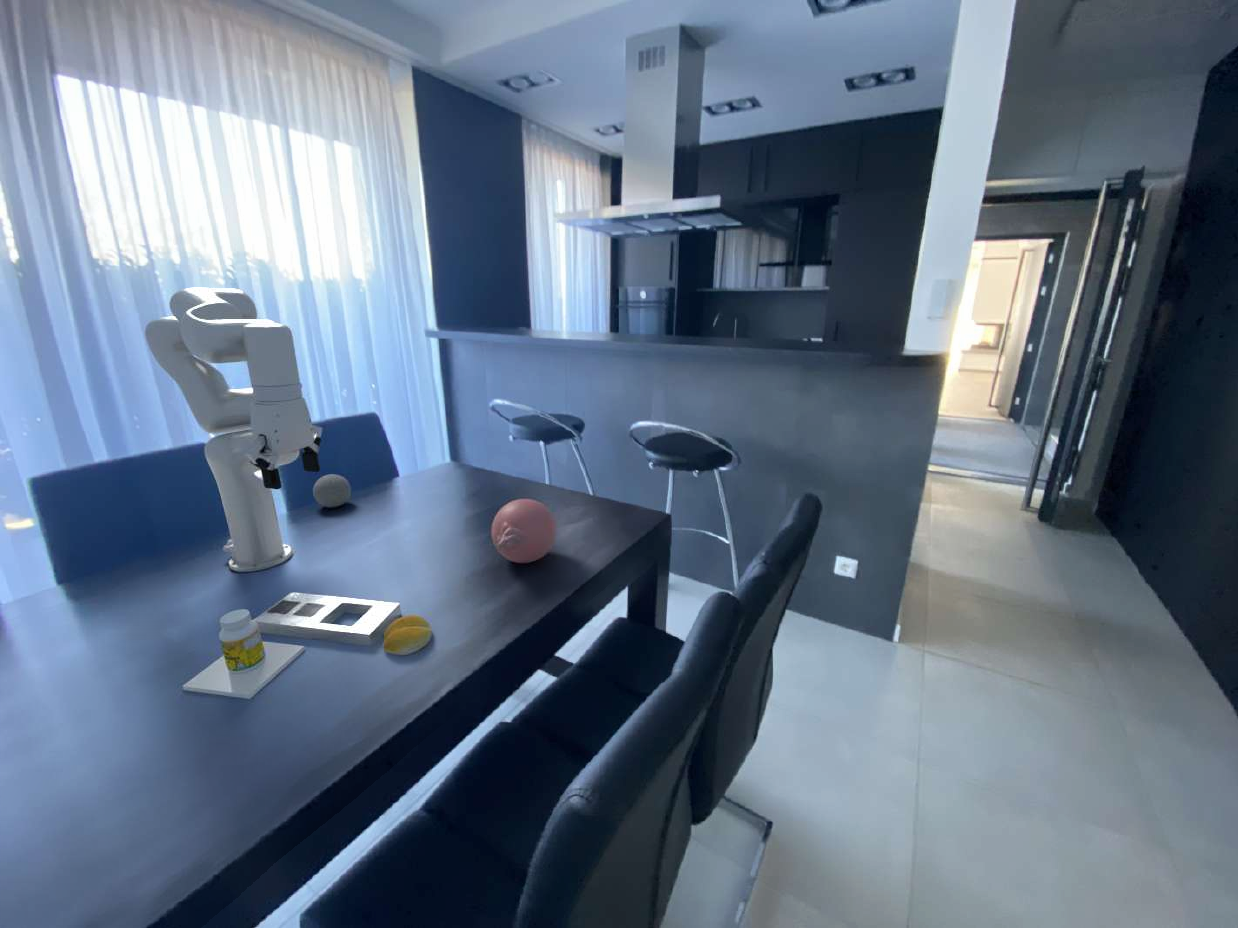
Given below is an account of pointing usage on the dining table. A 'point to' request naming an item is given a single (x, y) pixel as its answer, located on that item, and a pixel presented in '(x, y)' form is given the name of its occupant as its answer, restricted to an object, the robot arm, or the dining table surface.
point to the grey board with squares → (328, 618)
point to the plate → (247, 683)
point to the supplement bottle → (241, 642)
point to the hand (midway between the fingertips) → (293, 479)
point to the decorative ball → (332, 490)
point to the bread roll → (406, 635)
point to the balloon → (523, 530)
